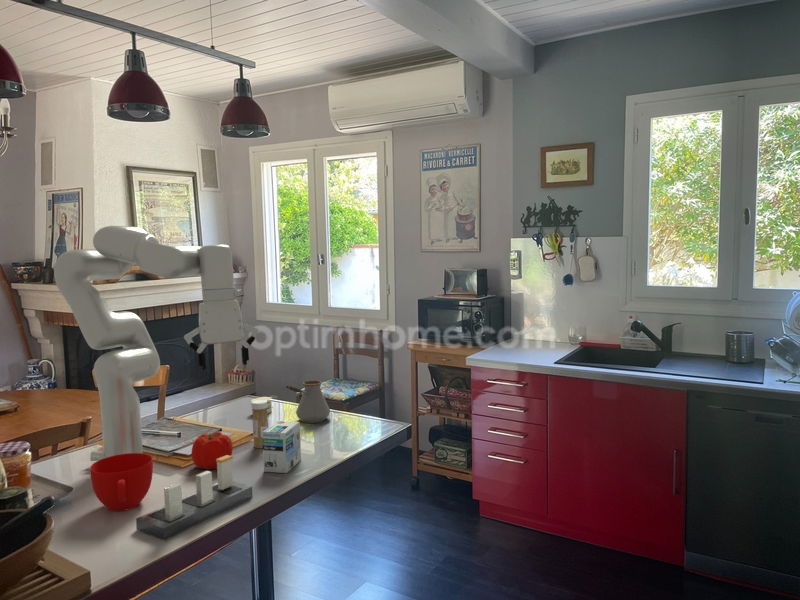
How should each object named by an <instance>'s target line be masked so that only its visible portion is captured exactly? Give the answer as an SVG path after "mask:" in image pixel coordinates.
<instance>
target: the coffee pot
mask: <svg viewBox="0 0 800 600" xmlns="http://www.w3.org/2000/svg"><path fill="white" fill-rule="evenodd" d="M322 383H323V381H321V380H305V381H303V382H302V385H303V388H304V390H302V389H299V388H298V387H293V386H292V385H287V386H284V387H283V389H282V390H283V392H284V393H286V391H285V388H286V389H288V390H287V393H289V391H292V392H296V393H300V394H301V393H302V395H301V398H300V401H299V402H298V406H297V408H296V410H295V414H296V416H297V418H298V419H299V420H301V421H302V423H306V424H317V423H322V422H324V421H325V419H327V418H328V417H329V415H330V414H331V413H330V412H331V409H330V407H329V404H328V403H327V400H326V398H325V396H324V393H323V392H322V390H321V385H322Z"/></svg>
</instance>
